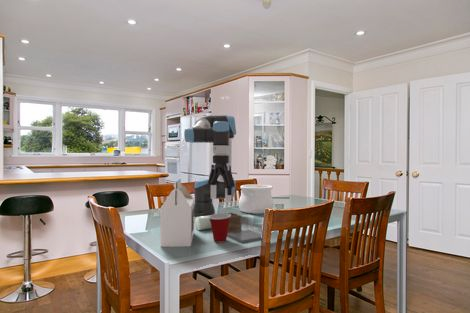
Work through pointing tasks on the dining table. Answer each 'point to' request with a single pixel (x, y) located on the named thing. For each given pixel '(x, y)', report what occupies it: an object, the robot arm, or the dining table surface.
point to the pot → (256, 198)
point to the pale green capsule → (202, 223)
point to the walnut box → (235, 223)
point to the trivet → (244, 236)
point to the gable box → (177, 218)
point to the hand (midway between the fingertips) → (220, 200)
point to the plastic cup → (220, 226)
